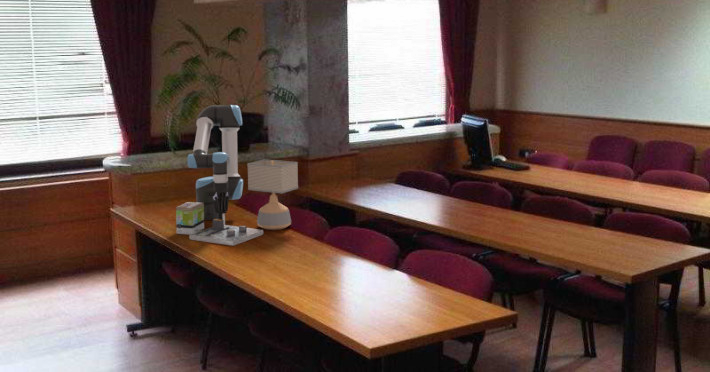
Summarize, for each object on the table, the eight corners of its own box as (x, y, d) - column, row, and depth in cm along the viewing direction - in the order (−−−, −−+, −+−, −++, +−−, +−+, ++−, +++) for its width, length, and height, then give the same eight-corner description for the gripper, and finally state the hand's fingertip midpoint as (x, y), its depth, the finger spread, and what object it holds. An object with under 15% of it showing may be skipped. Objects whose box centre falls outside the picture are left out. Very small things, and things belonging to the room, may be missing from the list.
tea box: (194, 235, 417) (192, 207, 414) (176, 234, 419) (174, 206, 416) (204, 228, 431) (203, 201, 429) (187, 227, 433) (186, 201, 431)
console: (220, 228, 431) (219, 219, 430) (263, 234, 417) (263, 225, 416) (188, 239, 408) (188, 229, 407) (233, 245, 395) (232, 236, 394)
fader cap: (216, 228, 421) (216, 218, 420) (223, 229, 419) (223, 219, 418) (212, 229, 418) (212, 219, 417) (220, 230, 416) (219, 220, 415)
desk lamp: (300, 225, 436) (299, 160, 429) (281, 233, 419) (279, 165, 413) (267, 221, 446) (265, 157, 439) (247, 228, 429) (245, 162, 423)
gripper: (222, 179, 424) (224, 222, 428) (207, 183, 413) (208, 227, 417) (233, 180, 421) (235, 223, 425) (218, 184, 409) (220, 228, 414)
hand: (222, 225), depth 421 cm, fingers closed
